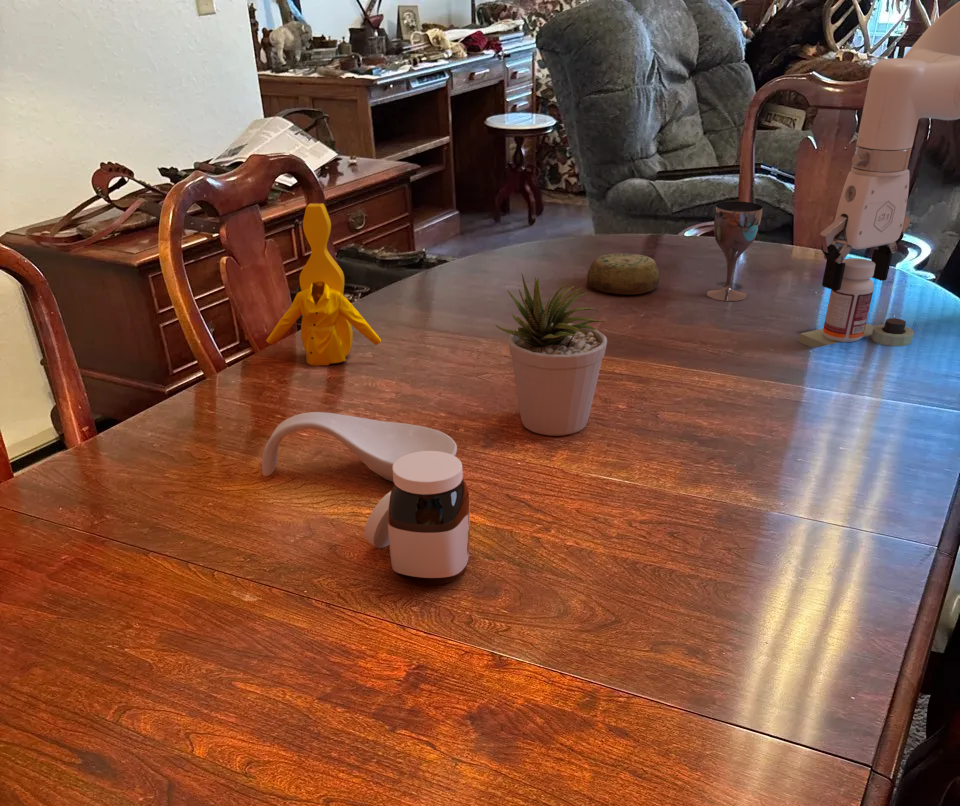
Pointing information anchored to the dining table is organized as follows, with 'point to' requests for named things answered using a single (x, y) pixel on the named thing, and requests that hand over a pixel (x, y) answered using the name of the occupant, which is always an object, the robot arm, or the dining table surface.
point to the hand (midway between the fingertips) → (854, 283)
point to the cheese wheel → (623, 274)
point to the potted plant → (554, 363)
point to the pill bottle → (850, 302)
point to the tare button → (894, 326)
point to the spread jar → (424, 519)
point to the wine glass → (734, 239)
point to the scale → (877, 333)
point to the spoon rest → (362, 439)
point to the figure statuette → (322, 300)
